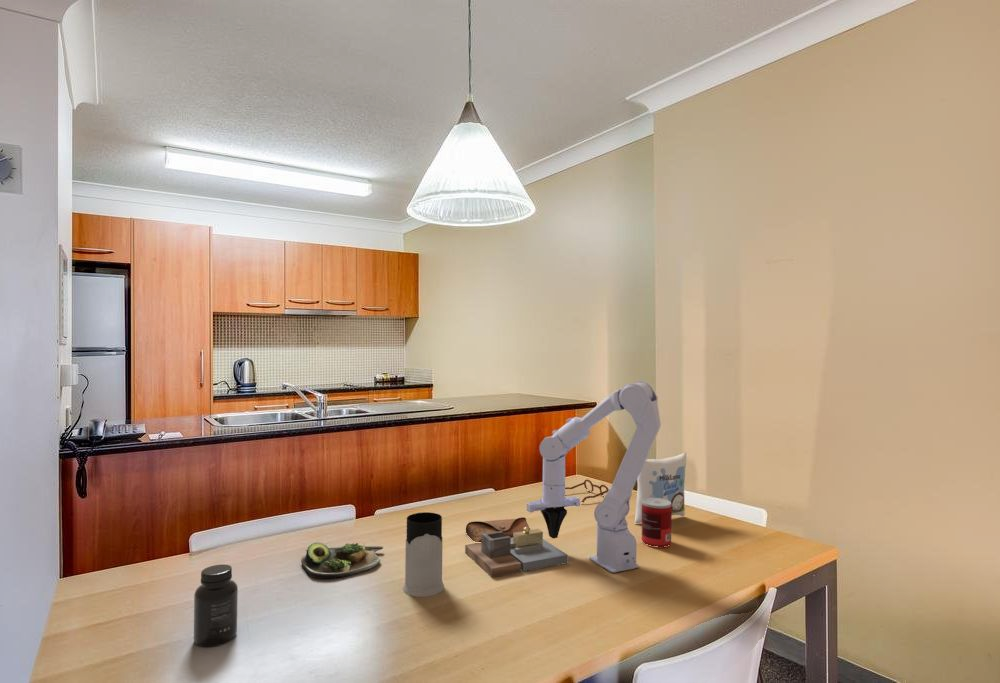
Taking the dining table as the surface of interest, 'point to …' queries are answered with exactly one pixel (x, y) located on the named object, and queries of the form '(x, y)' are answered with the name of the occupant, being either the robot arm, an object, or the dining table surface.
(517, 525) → the sunglasses case
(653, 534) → the canned food
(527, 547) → the door leaf
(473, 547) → the panel
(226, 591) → the supplement bottle
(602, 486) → the glasses
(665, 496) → the pouch
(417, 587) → the glass holder
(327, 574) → the salad plate
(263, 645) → the dining table surface
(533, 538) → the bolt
